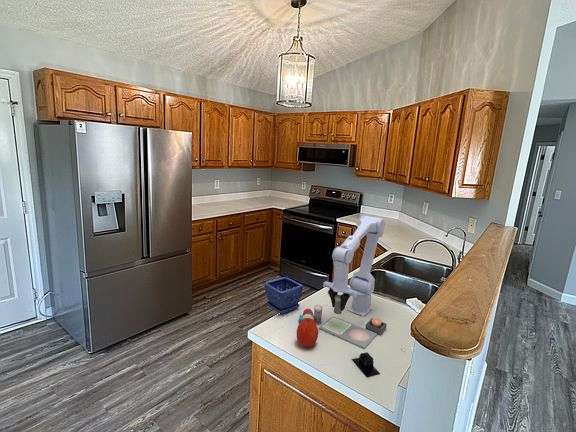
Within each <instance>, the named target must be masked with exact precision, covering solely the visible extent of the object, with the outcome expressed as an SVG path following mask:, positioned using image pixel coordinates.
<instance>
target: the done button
mask: <svg viewBox="0 0 576 432" xmlns="http://www.w3.org/2000/svg"><path fill="white" fill-rule="evenodd" d="M372 318H373V317H372ZM372 318H371V319H372ZM381 322H383V321H382V319H380V318H375V317H374V318H373V319H372V326H374V327H377V328H379V327H381Z"/></svg>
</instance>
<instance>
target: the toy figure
mask: <svg viewBox="0 0 576 432" xmlns="http://www.w3.org/2000/svg"><path fill="white" fill-rule="evenodd" d="M304 318H311V319H313V320H314V311H312V309H311V308H305V309H304V310H303V312H302V314H299V317H298V324H299V323H300V322H301V321H302V320H303V319H304Z"/></svg>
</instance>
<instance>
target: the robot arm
mask: <svg viewBox="0 0 576 432" xmlns="http://www.w3.org/2000/svg"><path fill="white" fill-rule="evenodd" d="M385 226H386V222H385V220H384V218H382V217H375V216H371V215H365V214H363V215H362V216H361V217H360V218H359V220H358V227H357V228H356V230H355V231H354V233H353V235H348V237H347V238H346V239H345V240H344V241H343V242H342V243H341V245H340V246H337V247H335V248H334V249H333V251H332V255H331V258H332V260H333V261H332V262H333V263H332V264H333V265H334V267H333V279H332V280H333V281H332V282H330V281H327V280H326V281H324V282H323V283H322V284H323V285H322V287H323V288H327V289H328V291H327V294H328V296H329V298H330V302H331V307H332V308H334V305H335V295H340V298H341V310H342V312H343V311H344V310H345V308H346V305H347V302H349V299H350V297H352V299H351V300H352V301H351V306H350V307H349V308H348V310H347V311H349V312H352V313H354V314H357V315H359V316H362V317H365V316H367V314H369V312H370V311H372V310H373V307H371V306H372V305H371V304H372V294H373V292H374V290H375V281H376V279H375V277H374V276H373V275H372V274H371V272H372V266H373V263H374V258H375V256H376V255H375V254H376V250H377V245H378V243H379V238H382V237H383V235H384V231H385ZM365 236H366V240H365V244H364V249H363V252H362V253H363V254H362V259H361V260H360V267H359V270H358V271H355V272H353V274H352V276H351V278H350V280H349V273H350V272H349V271H350V263H352V261H353V258H354V255H355V252H356V251H357V250H358V248H359V247H360V245H361V240H362V239H363V238H364V237H365ZM348 282H349V286H348ZM339 293H341V294H339Z"/></svg>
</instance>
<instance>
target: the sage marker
mask: <svg viewBox="0 0 576 432" xmlns="http://www.w3.org/2000/svg"><path fill="white" fill-rule="evenodd" d="M340 295H341V294H338V295H335V305H334V307H333V314H335V315H341V314H342V313H343V311H342V310H341V298H340Z"/></svg>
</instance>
